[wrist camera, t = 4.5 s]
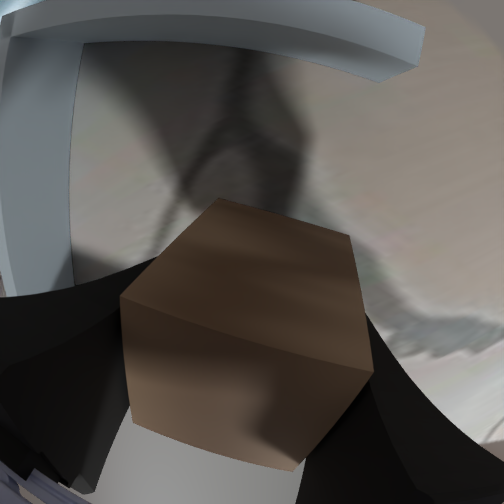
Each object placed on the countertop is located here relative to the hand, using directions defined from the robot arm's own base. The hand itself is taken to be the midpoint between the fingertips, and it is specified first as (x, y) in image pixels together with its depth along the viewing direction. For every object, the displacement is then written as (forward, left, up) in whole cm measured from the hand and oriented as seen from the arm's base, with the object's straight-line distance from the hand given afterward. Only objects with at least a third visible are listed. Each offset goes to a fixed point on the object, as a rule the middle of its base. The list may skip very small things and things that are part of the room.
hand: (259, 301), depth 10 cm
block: (0, 0, -2) cm, 2 cm away
